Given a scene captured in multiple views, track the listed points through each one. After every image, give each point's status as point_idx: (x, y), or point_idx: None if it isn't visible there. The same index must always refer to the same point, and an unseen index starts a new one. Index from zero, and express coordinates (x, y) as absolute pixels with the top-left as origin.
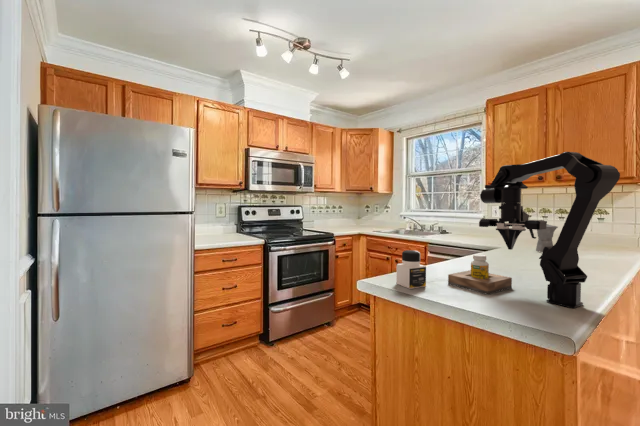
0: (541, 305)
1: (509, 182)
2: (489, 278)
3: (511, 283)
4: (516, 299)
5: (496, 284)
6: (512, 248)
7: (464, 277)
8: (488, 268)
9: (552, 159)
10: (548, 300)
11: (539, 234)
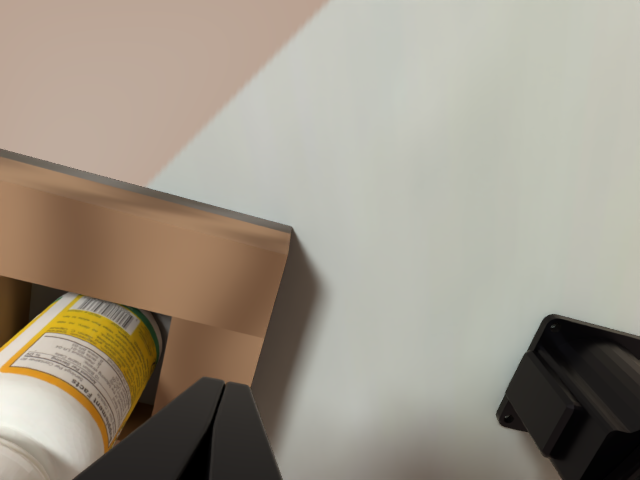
0: (472, 474)
1: None
2: (166, 396)
3: (289, 241)
4: (362, 454)
5: None
6: (250, 405)
7: None
8: (116, 416)
9: None
10: (507, 414)
11: None
